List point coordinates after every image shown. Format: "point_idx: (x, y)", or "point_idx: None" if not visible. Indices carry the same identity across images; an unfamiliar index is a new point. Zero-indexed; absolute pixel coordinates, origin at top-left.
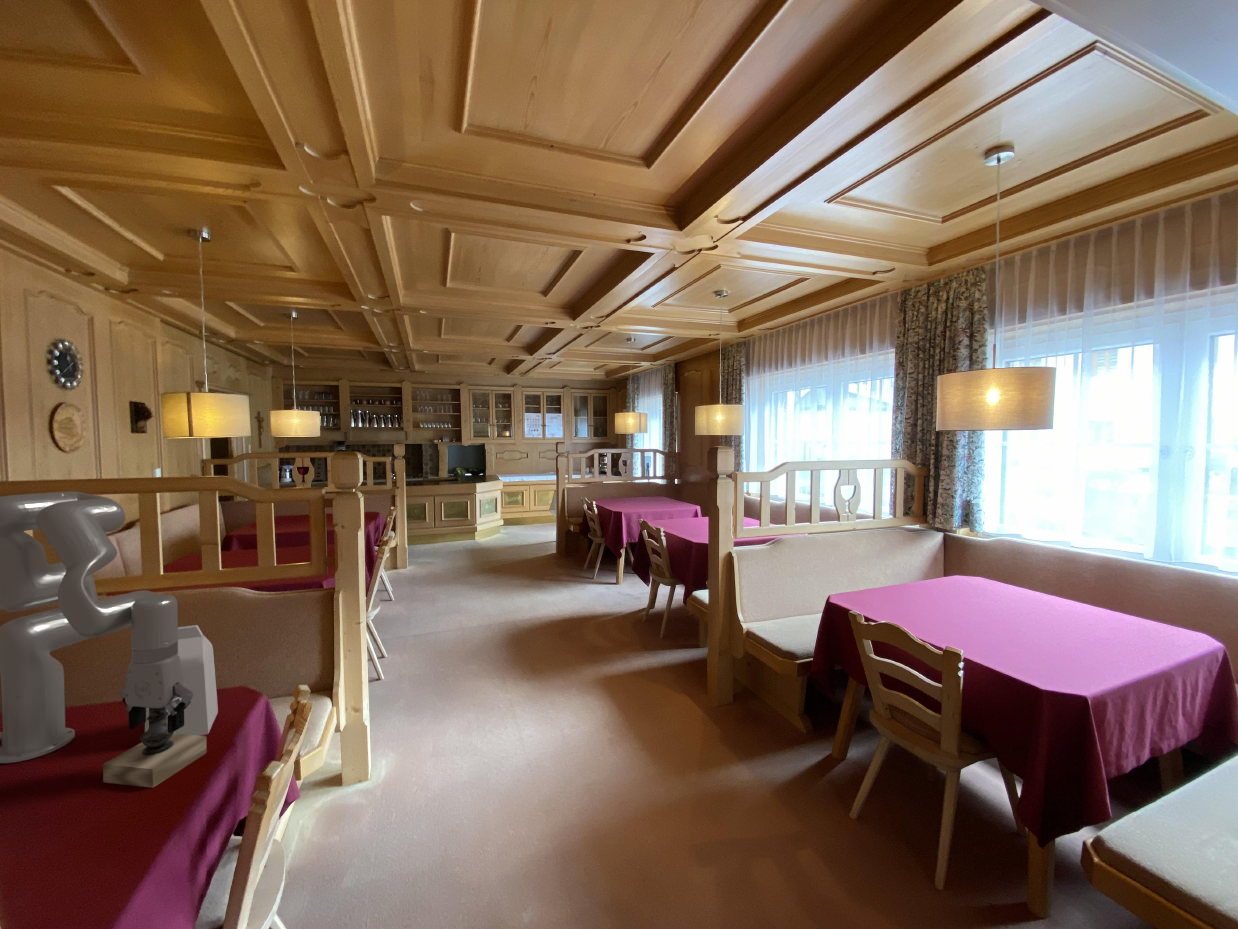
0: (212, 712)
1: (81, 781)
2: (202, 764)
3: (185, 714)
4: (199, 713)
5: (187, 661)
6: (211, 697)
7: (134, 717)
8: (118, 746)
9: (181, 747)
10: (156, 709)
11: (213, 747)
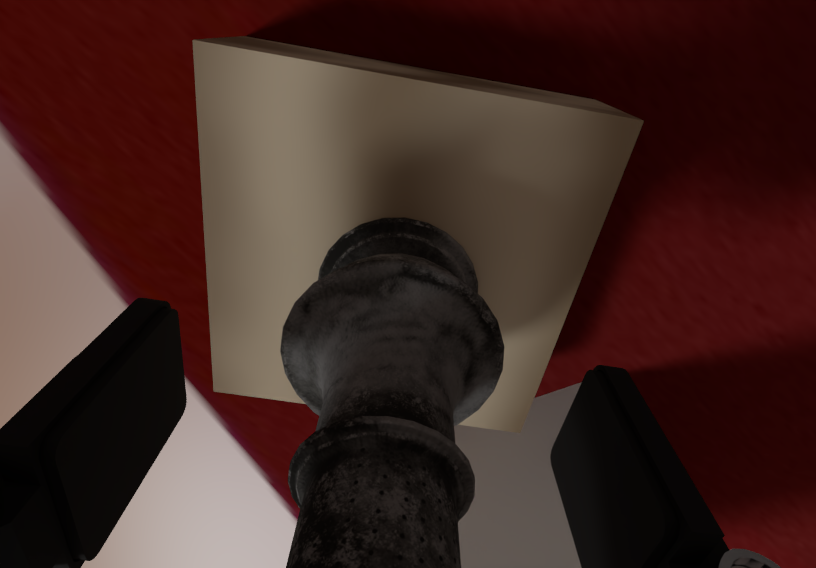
0: None
1: (733, 111)
2: (177, 247)
3: (460, 542)
4: None
5: None
6: None
7: (620, 470)
8: (726, 386)
9: (249, 294)
10: (308, 566)
11: None
